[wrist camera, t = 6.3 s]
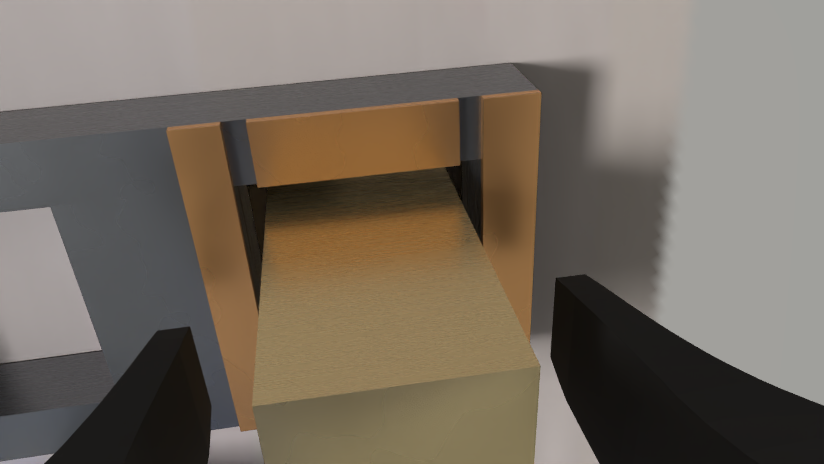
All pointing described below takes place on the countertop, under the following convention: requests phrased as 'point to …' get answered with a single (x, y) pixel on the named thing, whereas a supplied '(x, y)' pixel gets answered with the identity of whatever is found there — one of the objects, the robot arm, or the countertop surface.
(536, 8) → the countertop surface
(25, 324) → the countertop surface
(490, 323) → the peg
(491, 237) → the rail
